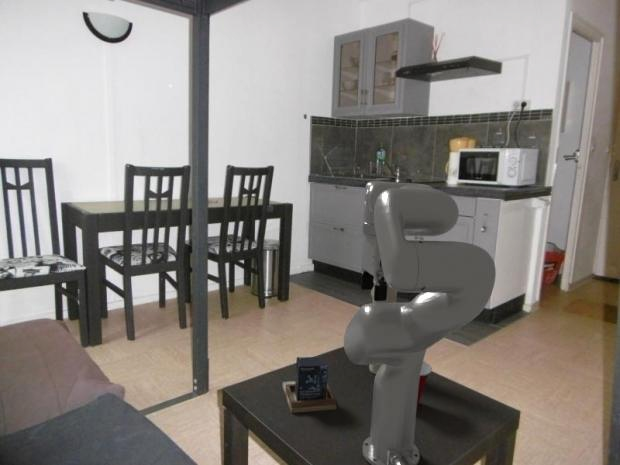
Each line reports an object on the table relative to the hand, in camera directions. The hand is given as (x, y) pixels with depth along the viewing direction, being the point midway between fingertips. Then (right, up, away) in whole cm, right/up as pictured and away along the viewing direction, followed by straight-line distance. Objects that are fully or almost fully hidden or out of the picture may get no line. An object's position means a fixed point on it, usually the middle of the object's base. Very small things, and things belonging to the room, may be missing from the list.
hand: (373, 294), depth 118 cm
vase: (+6, -27, +24) cm, 37 cm away
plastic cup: (+10, -31, +5) cm, 33 cm away
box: (-16, -29, +4) cm, 33 cm away
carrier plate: (-17, -29, +6) cm, 34 cm away
